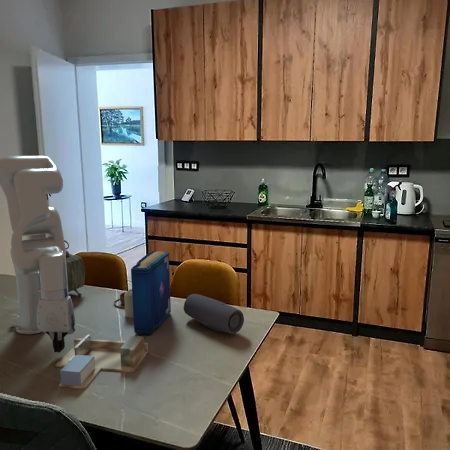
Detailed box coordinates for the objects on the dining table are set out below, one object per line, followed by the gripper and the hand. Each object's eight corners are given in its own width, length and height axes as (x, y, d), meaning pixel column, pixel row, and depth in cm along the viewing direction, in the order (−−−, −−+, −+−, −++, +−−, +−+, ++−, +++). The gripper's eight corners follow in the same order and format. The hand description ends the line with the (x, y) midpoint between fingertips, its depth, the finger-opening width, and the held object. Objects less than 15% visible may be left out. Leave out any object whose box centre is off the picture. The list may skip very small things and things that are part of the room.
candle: (127, 319, 163) (126, 293, 161) (123, 314, 168) (122, 289, 166) (141, 316, 166) (140, 291, 164) (137, 311, 170) (136, 287, 169)
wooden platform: (36, 384, 119) (34, 364, 118) (77, 345, 142) (75, 328, 141) (121, 391, 116) (120, 370, 114) (148, 350, 138) (148, 332, 137)
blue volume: (150, 338, 147) (148, 266, 143) (131, 336, 149) (128, 265, 144) (171, 313, 168) (169, 250, 164) (153, 312, 170) (151, 249, 165)
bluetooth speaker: (245, 332, 152) (245, 305, 150) (226, 341, 145) (226, 312, 144) (201, 314, 168) (201, 289, 166) (182, 321, 161) (182, 295, 159)
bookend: (68, 362, 129) (67, 346, 128) (82, 348, 138) (81, 333, 137) (77, 363, 129) (76, 347, 128) (91, 349, 138) (90, 334, 137)
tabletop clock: (86, 296, 187) (82, 239, 183) (70, 303, 179) (66, 243, 175) (60, 291, 193) (56, 236, 188) (44, 298, 185) (39, 240, 180)
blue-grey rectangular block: (61, 384, 118) (60, 370, 117) (76, 367, 127) (76, 354, 126) (80, 385, 117) (79, 372, 116) (95, 369, 126) (94, 356, 125)
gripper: (24, 296, 128) (29, 354, 132) (72, 298, 126) (76, 358, 129) (38, 288, 136) (43, 343, 139) (84, 290, 133) (87, 346, 137)
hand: (59, 350), depth 134 cm, fingers closed
